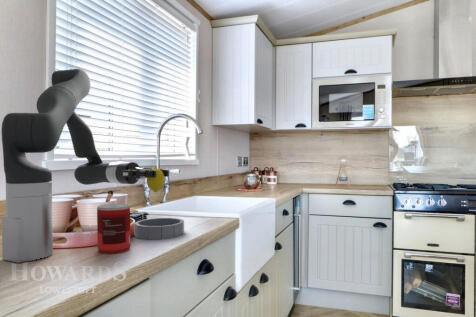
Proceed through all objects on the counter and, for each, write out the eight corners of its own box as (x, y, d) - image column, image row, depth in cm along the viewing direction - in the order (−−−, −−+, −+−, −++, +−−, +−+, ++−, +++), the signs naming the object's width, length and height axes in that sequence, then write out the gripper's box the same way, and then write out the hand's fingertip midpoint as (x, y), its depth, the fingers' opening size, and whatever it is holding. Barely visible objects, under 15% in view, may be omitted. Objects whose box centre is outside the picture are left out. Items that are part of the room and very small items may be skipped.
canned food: (117, 244, 92) (117, 202, 92) (137, 248, 88) (136, 204, 88) (90, 251, 86) (90, 206, 86) (110, 256, 82) (109, 208, 82)
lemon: (160, 193, 109) (160, 167, 109) (143, 193, 111) (143, 167, 111) (167, 191, 115) (167, 167, 115) (151, 191, 116) (151, 167, 116)
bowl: (162, 241, 95) (162, 228, 95) (124, 236, 102) (124, 224, 102) (193, 231, 107) (192, 219, 107) (157, 227, 114) (157, 216, 114)
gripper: (106, 162, 113) (145, 162, 105) (138, 161, 126) (176, 161, 118) (106, 185, 113) (146, 187, 105) (138, 182, 126) (176, 183, 118)
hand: (161, 173), depth 111 cm, fingers closed on lemon, 5 cm apart
